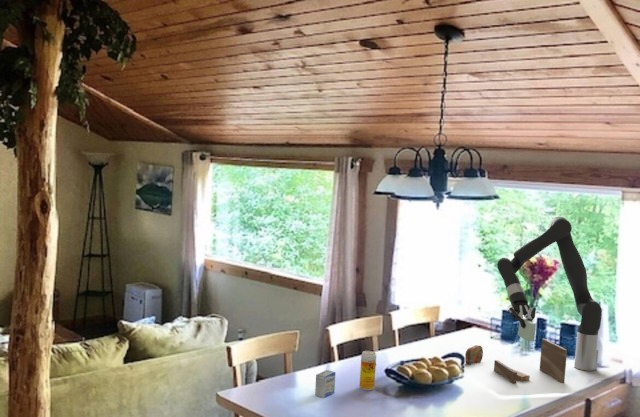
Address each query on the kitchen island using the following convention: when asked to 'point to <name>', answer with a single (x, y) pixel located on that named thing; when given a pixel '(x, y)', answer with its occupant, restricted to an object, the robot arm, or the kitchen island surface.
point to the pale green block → (527, 330)
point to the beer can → (367, 370)
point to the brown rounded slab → (474, 355)
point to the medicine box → (325, 383)
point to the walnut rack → (541, 363)
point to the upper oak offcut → (522, 376)
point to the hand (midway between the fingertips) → (528, 327)
